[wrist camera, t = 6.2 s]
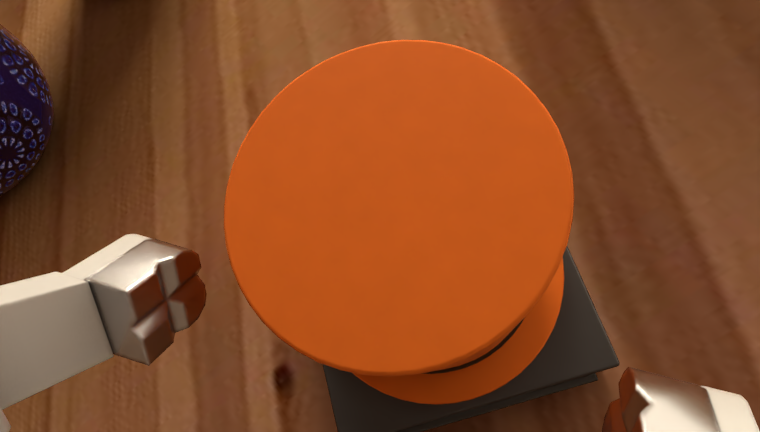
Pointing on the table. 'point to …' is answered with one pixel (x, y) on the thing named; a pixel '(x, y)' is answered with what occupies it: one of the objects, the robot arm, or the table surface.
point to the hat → (405, 219)
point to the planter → (21, 111)
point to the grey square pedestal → (541, 377)
